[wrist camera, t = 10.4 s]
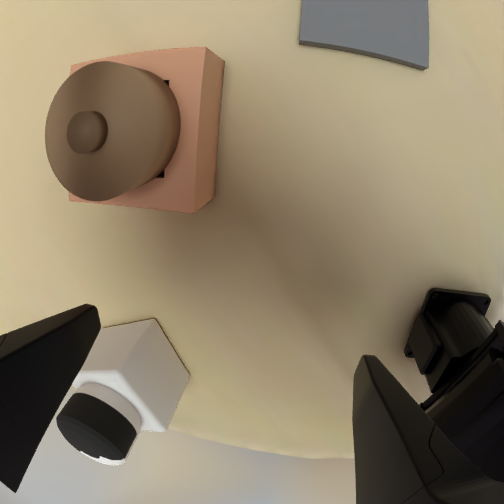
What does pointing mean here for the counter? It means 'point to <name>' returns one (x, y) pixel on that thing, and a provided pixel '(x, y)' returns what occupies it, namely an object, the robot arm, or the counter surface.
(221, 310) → the counter surface
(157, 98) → the walnut lid
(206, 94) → the salmon pink square box
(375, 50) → the coaster mat
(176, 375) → the medicine bottle
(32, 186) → the counter surface
